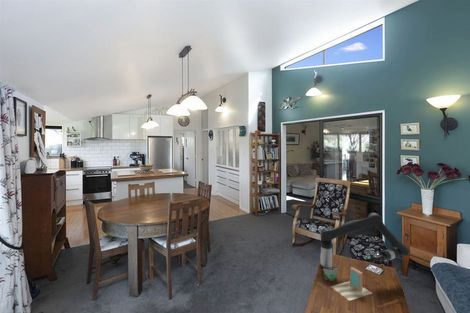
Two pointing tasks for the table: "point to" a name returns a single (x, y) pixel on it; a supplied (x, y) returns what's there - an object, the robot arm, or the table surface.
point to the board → (350, 291)
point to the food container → (330, 273)
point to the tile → (356, 279)
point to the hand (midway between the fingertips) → (371, 259)
